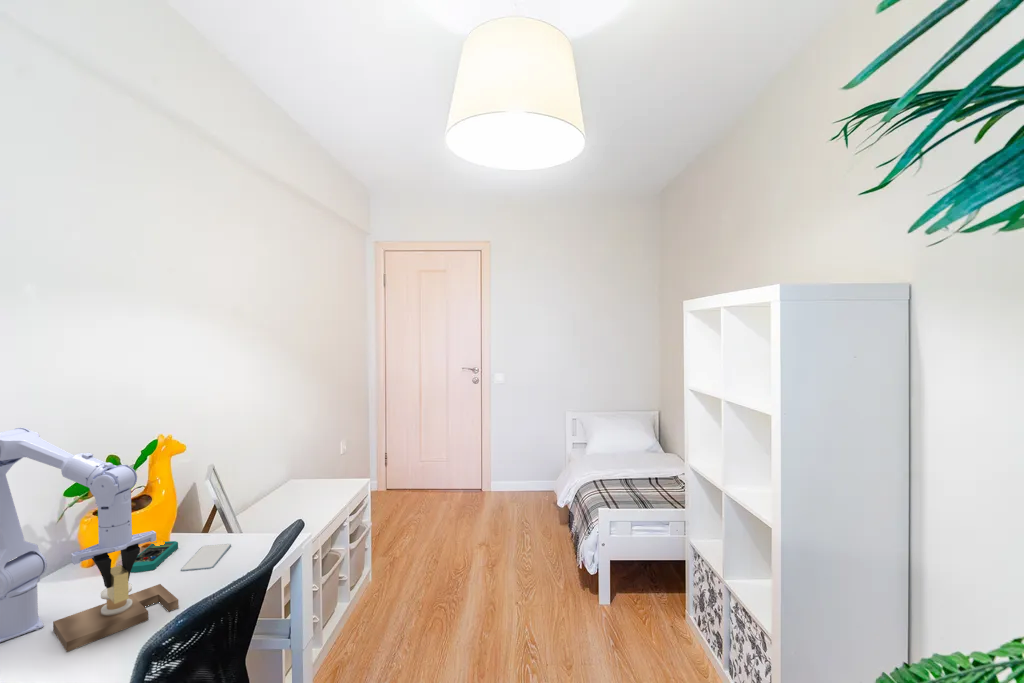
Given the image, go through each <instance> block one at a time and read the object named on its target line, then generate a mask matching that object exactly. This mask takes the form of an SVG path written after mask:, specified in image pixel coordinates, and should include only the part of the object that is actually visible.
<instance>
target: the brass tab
mask: <svg viewBox="0 0 1024 683" xmlns="http://www.w3.org/2000/svg"><path fill="white" fill-rule="evenodd" d="M128 583H129V581H128V571H127V570H126V569H125V568H124V567H123V566H122V564H120V565H117V566H113V567H111V587H110V588H107V596H108V597H109V598H110V599H111V601H112V602H113V603H114V604H116V603H118V602H121V601H124V600H127V599H129V595H130V594H129V593H130V592H129V593H128Z"/></svg>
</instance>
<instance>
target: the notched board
mask: <svg viewBox="0 0 1024 683" xmlns="http://www.w3.org/2000/svg"><path fill="white" fill-rule="evenodd" d="M129 599H131V600H132V606H131V607H130V608H129V609H128V610H126V611H124V612H122V613H119V614H115V615H110V616H104V615H102V614H101V608H102V607H103V606H104V605H106V604H107V602H105V603H102V604H99V605H95V606H94V607H90V608H87V609H85V610H82V611H79V612H76V613H73V614H71V615H68V616H65V617H62V618H60V619H57V620H54V621H52V624H53V625H52V629H53V633H54V634H55V636H56V637H57V639H58V640H59V642H60V644H61V645H62V647H63V648H64V651H66V652H70V651H73V650H75V649H78V648H80V647H83V646H85V645H87V644H90V643H93V642H96V641H98V640H100V639H103V638H106V637H108V636H111V635H114V634H116V633H119V632H121V631H124V630H126V629H128V628H131V627H134V626H136V625H139V624H141V623H143V622H146V621H148V620H149V610H148V609H147V607H145V606H148V605H151V604H153V603H156V604H158V603H157V602H160V603H159V604H160V605H161V606H162V605H163V606H162V607H163V608H164V607H165V608H166V609H167V610H168V611H167V610H166V609H165V608H164V609H165V610H166V611H167V612H171V611H170V610H172V611H174V610H176V608H177V609H179V608H180V607H179V606H180V605H179V598H177V597H176V596H175V595H174V594H173V593H171V591H169V590H168V589H166V588H165V587H164V585H162V584H161V583H159V584H156V585H153V586H150V587H148V588H144V589H142V590H138V591H136V592H133V593H130V594H129ZM153 605H154V604H153ZM151 606H152V605H151ZM148 607H149V606H148ZM173 609H174V610H173Z"/></svg>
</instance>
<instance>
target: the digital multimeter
mask: <svg viewBox="0 0 1024 683" xmlns="http://www.w3.org/2000/svg"><path fill="white" fill-rule="evenodd" d="M164 542H165V544H164V545H160V546H155V545H154V544H152V543H151V544H150V545H148V546H147V548H145V549H143V551H142V552H141V551H140V553H139V554H138V556H137V558H136V560H135V562H134V564H133V567H132V569H131V573H142V572H150V571H154V570H156V569H157V568H158V567H159V566H160V565H161V564H162V563H163V562H164V561H165V560H166V559H167V558H169V556H171V555H172V554H173V553H174V552H175V551H176V550H177V549H178V548H179V542H178V541H177V540H174V541H173V540H167V541H164Z"/></svg>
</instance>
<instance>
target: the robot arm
mask: <svg viewBox="0 0 1024 683" xmlns="http://www.w3.org/2000/svg"><path fill="white" fill-rule="evenodd" d="M40 436H41V435H40V434H39V432H37V431H35V430H34V431H33V430H32V429H31V430H30V429H29V428H27V427H17V428H14V429H9V430H4V431H0V643H2V642H5V641H8V640H10V639H13V638H17V637H20V636H22V635H25V634H28V633H30V632H34V631H36V630H38V629H41V628H43V627H44V623H43V621H42V619H41V618H40V616H39V611H38V610H39V602H38V596H39V595H38V583H40V582H41V576H42V575H44V574H45V572H46V570H47V569H48V562H47V559H46V557H45V555H43V553H42V552H41V551H40V549H39V545H38V544H37V543H33V542H30V541H27V540H25V536H24V533H23V530H22V527H21V523H20V520H19V516H18V513H17V509H16V506H15V502H14V498H13V496H12V493H11V489H10V484H9V482H8V478H7V473H8V472H9V470H10V469H12V467H13V466H14V465H15V464H16V463H18V462H19V461H21V460H22V459H23V458H27V459H30V460H33V461H36V462H39V463H42V464H45V465H47V466H50V467H54V468H57V469H60V470H61V475H62V477H63V478H66V479H67V480H70V481H72V482H75V483H78V484H80V485H82V486H84V487H86V488H88V489H89V491H90V493H91V494H92V496H93V497H94V498H95V500H94V501H95V504H96V506H97V517H98V518H97V520H98V521H97V524H98V527H97V528H98V543H97V544H94V545H91V546H89V547H86V548H83V549H80V550H77V551H75V552H71V553H70V554H71V557H70V558H71V564H72V565H78V564H81V562H85V561H87V560H92V561H93V563H94V564H95V566H96V567H97V568H98V569H97V570H99V572H100V575H101V577H102V579H103V580H102V581H103V585H104V587H105V589H106V588H110V587H111V568H112V558H111V557H110V554H112V553H115V552H119V551H120V557H121V565H122V566H123V567H124V568H125V569H126V570H127V571H128V582H129V581H130V576H131V573H132V572H131V569H132V567H133V564H134V562H135V560H136V558H137V556H138V555H139V554H140V553H141V546H140V545H142V544H146V543H149V542H151V543H154V542H156V541H157V532H156V531H154V530H150V531H144V532H140V533H136V534H133V529H132V528H133V527H132V526H133V524H132V521H133V520H132V488H134V486H135V485H136V484H137V480H138V475H137V472H136V470H135V469H134V468H133V467H131V466H130V465H128V464H118V465H115V464H113V463H112V462H106V461H103V460H102V459H99V458H97V457H94V454H93V453H90V452H86V453H85V452H78V453H76V454H72V453H71V452H70V451H69V452H68V451H67V450H65V449H63V448H61V447H60V446H57V445H55V444H53V443H51V442H49V441H47V440H45V439H43V438H42V437H40Z"/></svg>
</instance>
